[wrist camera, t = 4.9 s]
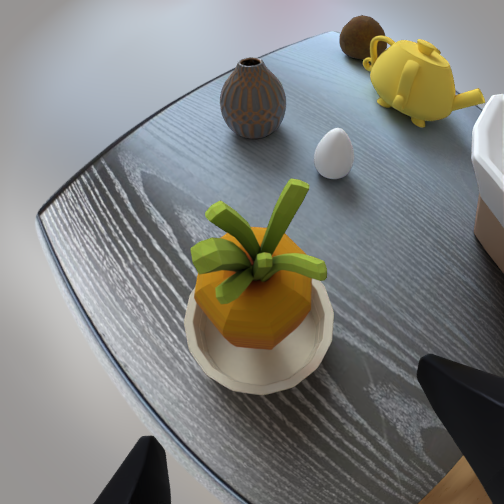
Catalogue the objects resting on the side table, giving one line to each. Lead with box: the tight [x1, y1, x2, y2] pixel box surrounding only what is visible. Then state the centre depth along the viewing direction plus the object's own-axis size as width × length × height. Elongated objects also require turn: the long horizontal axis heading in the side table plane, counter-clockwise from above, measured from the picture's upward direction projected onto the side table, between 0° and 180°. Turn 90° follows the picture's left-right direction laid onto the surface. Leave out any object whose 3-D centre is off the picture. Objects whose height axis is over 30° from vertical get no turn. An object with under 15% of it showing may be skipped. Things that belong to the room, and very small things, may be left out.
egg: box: [314, 128, 354, 179], centre depth 25 cm, size 4×4×6 cm
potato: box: [340, 15, 387, 60], centre depth 36 cm, size 8×12×9 cm
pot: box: [184, 279, 334, 395], centre depth 19 cm, size 9×9×4 cm
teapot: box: [363, 36, 485, 127], centre depth 28 cm, size 14×14×11 cm
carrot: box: [191, 179, 327, 350], centre depth 14 cm, size 5×5×15 cm
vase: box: [220, 57, 286, 139], centre depth 27 cm, size 7×7×9 cm
